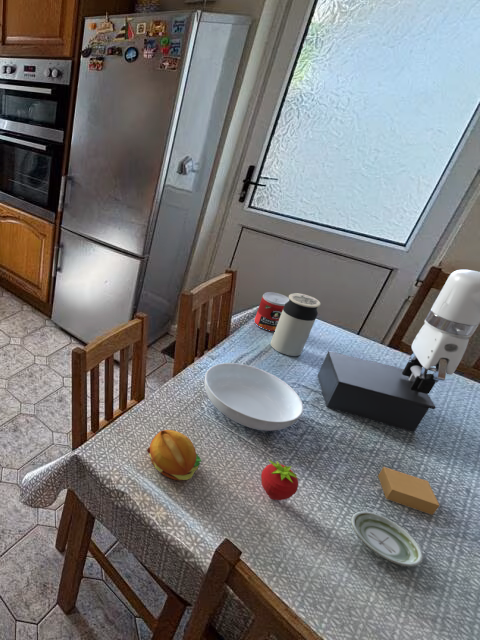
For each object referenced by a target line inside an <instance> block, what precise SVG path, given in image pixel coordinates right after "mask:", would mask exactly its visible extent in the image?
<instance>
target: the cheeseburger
mask: <svg viewBox="0 0 480 640" xmlns="http://www.w3.org/2000/svg"><path fill="white" fill-rule="evenodd" d="M193 443H194V442H193V441H192V440H191V439H190V438H189V437H188V436H187V435H186V434H184V433H182V432H180V431H176V430H174V429H164V430H160V431H159V432H158V433H157V434H156V435H154V437H153V438H152V440H151V442H150V444H149V447H148V448H147V449H146V452H147V453H148V455H149V457H150V458H149V459H150V462H151V464H152V465H153V467H154V469H156V470H157V471H158V472H159V473H160V474H162V475H163V476H165V477H166V478H169V479H171V480H174V481H175V480H176V481H180V482H181V481H187V480H190V479H192V478H193V476H194V474H195V472H196V471H197V470H198V469H199V466H200V465H201V463H202V462H203V461H202V458H201V457H200V456H199V455H198V453H197V450H196V447H195V445H194V444H193Z"/></svg>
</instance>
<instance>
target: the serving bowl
mask: <svg viewBox="0 0 480 640" xmlns="http://www.w3.org/2000/svg"><path fill="white" fill-rule="evenodd" d="M204 389H205V393H206V395H207V398H208V399H209V401H210V403H212V405H213V406H214V407H215V408H216V410H217V411H219V412H220V413H221V414H222V415H224V416H225V417H226V418H228V419H229V420H231V421H233V422H235V423H237V424H239V425H241V426H244V427H245V428H249V429H253V430H258V431H264V432H265V431H266V432H273V431H281V430H284V429H287V428H289V427H291V426H293V425H294V424H295V423H297V422H298V420H299V419H300V418H301V416H302V415H303V413H304V403H303V400H302V399H301V397H300V395H299V394H298V392H296V391H295V389H294V388H292V386H290V385H289V384H288V383H287V382H286V381H284V380H282V379H281V378H280V377H278V376H276V375H275V374H272V373H271V372H268V371H266V370H265V369H261V368H258V367H256V366H253V365H248V364H243V363H236V362H223V363H218V364H215V365H212V366H211V367H209V368H208V369H207V370H206V372H205V374H204Z"/></svg>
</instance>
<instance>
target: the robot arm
mask: <svg viewBox="0 0 480 640" xmlns="http://www.w3.org/2000/svg"><path fill="white" fill-rule="evenodd" d="M479 325H480V271H477V270H473V269H457V270H455V271H453V272H451V273H450V274H449V275H448V277H447V280H446V281H445V284H444V285H443V286H442V288H441V289H440V292H439V294H438V296H437V298H435V301H434V302H433V304H432V306H431V308H430V310H429V312H428V313H427V315H426V317H425V318H424V322H423V325H422V327H421V328H420V329H419V331H418V332H417V334H416V336H415V338H414V339H413V341H412V343H411V345H410V346H411V352H412V354H411V355H410V356H409V357H408V361H407V363H406V365H405V367H404V368H403V369H404V370H403V372H402V374H403V375H404V376H408V377H410V376H411V374H412V371H411V369H410V368H411V367H412V366H420V367H421V368H422V371H421V373H420V376H417V377H416V378H415V380H414V382H413V383H412V385H411V387H410V388H411V390H413V391H417V392H421V393H425V394H428V395H429V394H430V393H431V391H432V389H433V388H434V386H435V384H436V383H438V382H440V381H445V380H446V375H449V376H450V375H451V376H452V375H453V374H454V373H455V371H456V370H457V368H458V366H459V365H460V363H461V361H462V360H463V359H462V358H463V357H464V355H465V353H466V350H467V348H468V345H469V341H470V338H471V337H472V336H473V335H474V333H475V331H476V330H477V329H478V327H479ZM428 372H434V373H428Z"/></svg>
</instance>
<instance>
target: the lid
mask: <svg viewBox="0 0 480 640" xmlns="http://www.w3.org/2000/svg"><path fill="white" fill-rule="evenodd" d="M327 353H328V356H329V359H330V362H331V365H332V368H333V371H334V374H335V376H336V379H337V382H338V384H341V385H344V386H348V387H352V388H356V389H359V390H363V391H367V392H371V393H374V394H378V395H382V396H386V397H389V398H393V399H397V400H400V401H404V402H408V403H412V404H415V405H419V406H423V407H427V408H429V410H430V409H431V410H435V409H436V405H435V404H434V402H433V401H432V399H431V397H430V395H429V394H425V393H421V392H417V391H413V390H411V388H410V387H411V385H412V383H413V382H414V380H415V378H416V377H417V376H420V373H421V371H422V368H421V367H420V366H412V367H411V368H410V369H411V371H412V374H411V376H410V377H408V376H404V375H403V374H402V372H403V370H404V368H402V367H397V366H393V365H389V364H384V363H380V362H377V361H372V360H368V359H363V358H359V357H355V356H351V355H348V354H344V353H339V352H335V351H332V350H331V351H330V350H327Z"/></svg>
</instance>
